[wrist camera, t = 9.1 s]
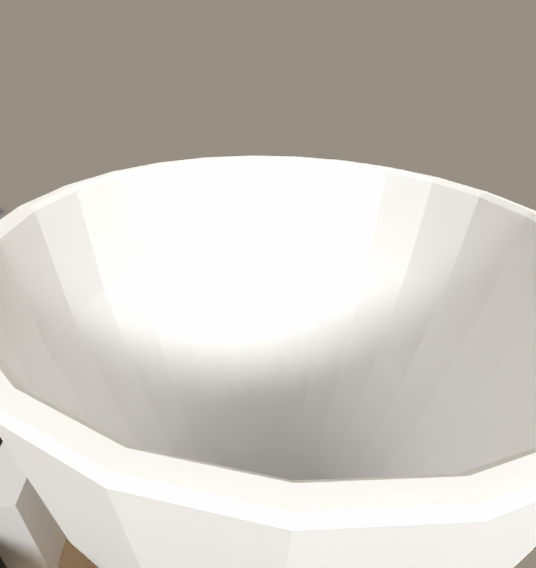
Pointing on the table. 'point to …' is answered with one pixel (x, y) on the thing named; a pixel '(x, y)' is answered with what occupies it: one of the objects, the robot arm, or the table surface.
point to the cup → (274, 365)
